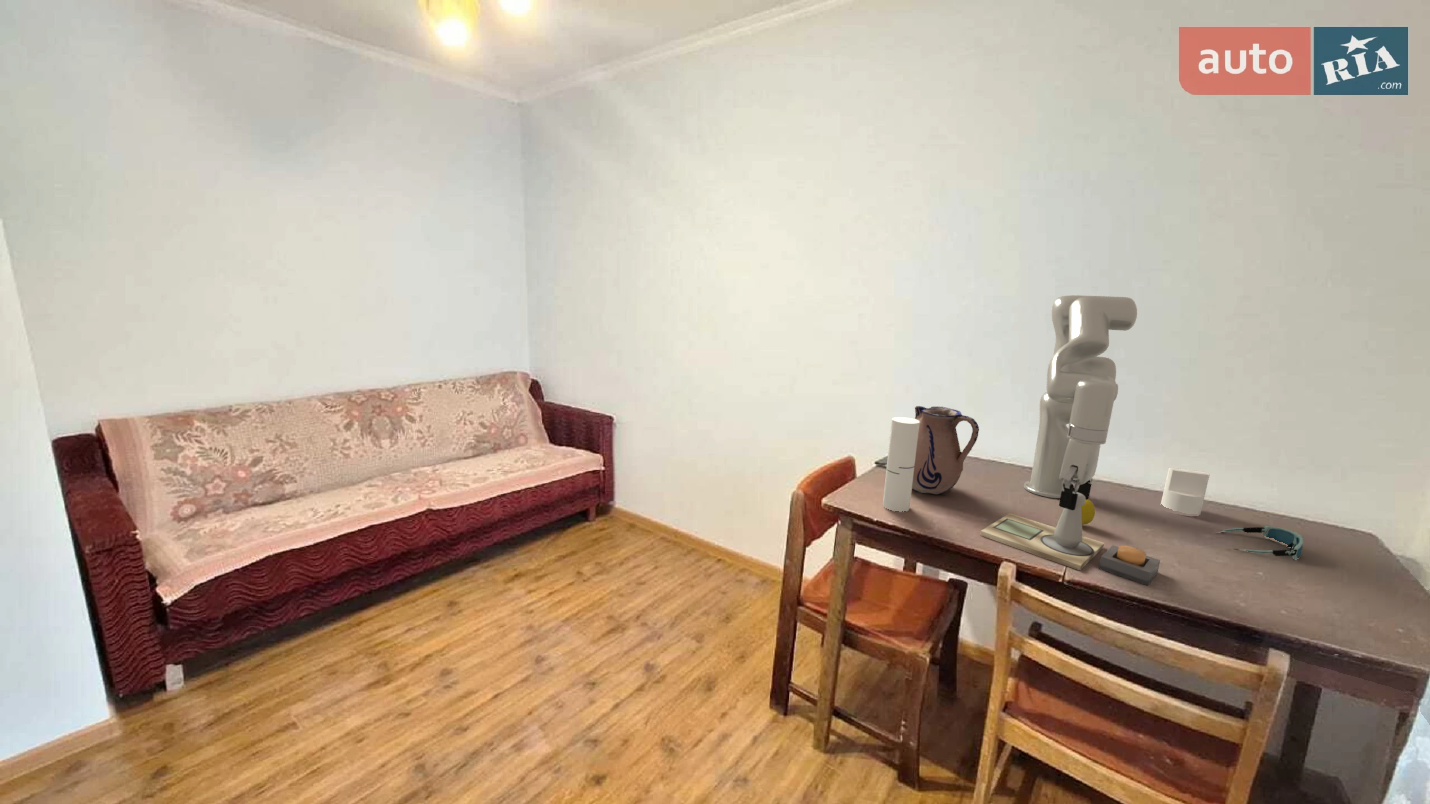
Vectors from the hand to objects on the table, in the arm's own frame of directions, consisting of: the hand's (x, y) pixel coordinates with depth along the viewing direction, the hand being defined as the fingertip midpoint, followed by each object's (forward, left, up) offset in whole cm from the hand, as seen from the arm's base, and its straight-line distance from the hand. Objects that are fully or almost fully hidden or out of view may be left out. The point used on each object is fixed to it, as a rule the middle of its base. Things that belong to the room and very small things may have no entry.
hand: (1073, 502), depth 133 cm
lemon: (-18, -2, -12) cm, 22 cm away
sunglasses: (-42, +31, -12) cm, 54 cm away
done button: (+1, +13, -10) cm, 16 cm away
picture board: (+1, -5, -12) cm, 13 cm away
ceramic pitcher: (-10, -39, -12) cm, 42 cm away
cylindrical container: (+11, -39, -12) cm, 42 cm away
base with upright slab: (-55, +13, -12) cm, 58 cm away
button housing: (+1, +13, -12) cm, 17 cm away
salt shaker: (0, 0, -11) cm, 11 cm away
